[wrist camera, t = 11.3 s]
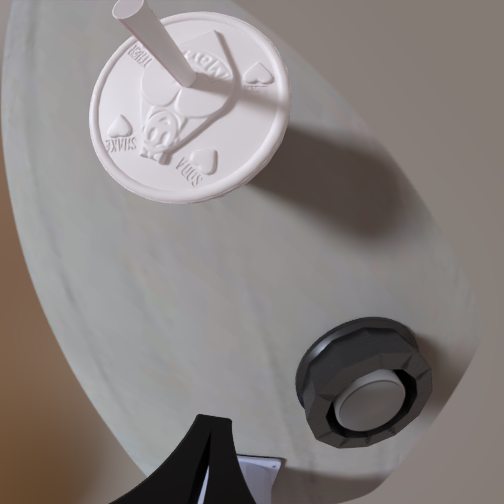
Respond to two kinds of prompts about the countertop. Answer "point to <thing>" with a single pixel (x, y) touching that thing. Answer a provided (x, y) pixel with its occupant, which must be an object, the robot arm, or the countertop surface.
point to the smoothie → (188, 104)
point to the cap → (369, 400)
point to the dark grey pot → (358, 365)
